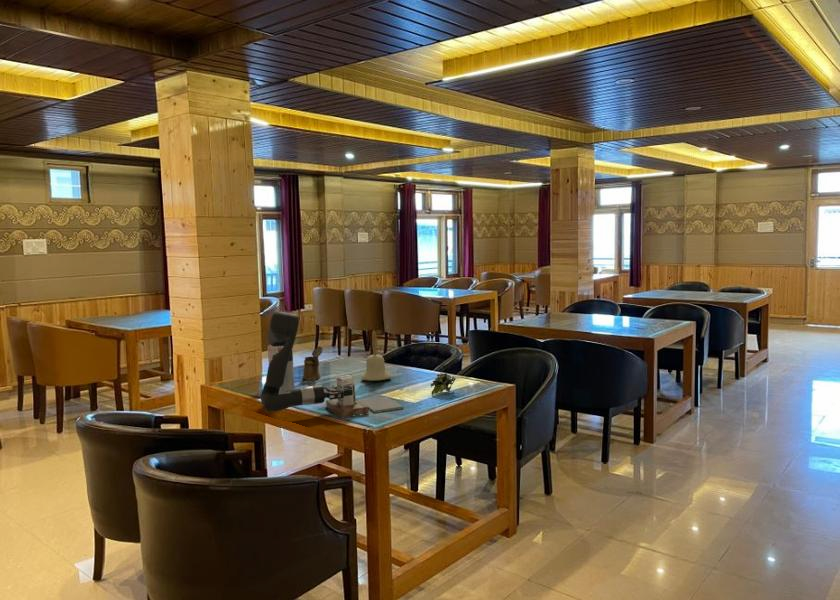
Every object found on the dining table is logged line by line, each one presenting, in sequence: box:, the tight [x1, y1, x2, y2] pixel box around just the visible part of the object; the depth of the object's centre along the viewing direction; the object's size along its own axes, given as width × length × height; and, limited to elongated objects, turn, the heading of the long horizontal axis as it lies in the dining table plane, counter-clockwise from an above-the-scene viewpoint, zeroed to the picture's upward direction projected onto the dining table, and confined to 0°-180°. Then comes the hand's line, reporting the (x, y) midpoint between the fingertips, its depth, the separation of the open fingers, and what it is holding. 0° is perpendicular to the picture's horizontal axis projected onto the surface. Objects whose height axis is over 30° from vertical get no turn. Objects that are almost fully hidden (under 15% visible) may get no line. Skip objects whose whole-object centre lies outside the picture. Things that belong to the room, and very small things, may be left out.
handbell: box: [360, 331, 392, 382], centre depth 323 cm, size 15×15×25 cm
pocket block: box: [325, 397, 369, 419], centre depth 268 cm, size 12×20×3 cm, turn 24°
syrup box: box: [335, 374, 356, 407], centre depth 267 cm, size 6×6×14 cm
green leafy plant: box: [430, 372, 457, 396], centre depth 290 cm, size 11×11×12 cm
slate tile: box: [358, 396, 404, 413], centre depth 274 cm, size 13×20×1 cm, turn 24°
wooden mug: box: [302, 346, 324, 381], centre depth 330 cm, size 9×14×18 cm, turn 43°
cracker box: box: [266, 344, 284, 365], centre depth 322 cm, size 14×6×21 cm, turn 174°
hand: (349, 390), depth 267 cm, fingers open, 8 cm apart
